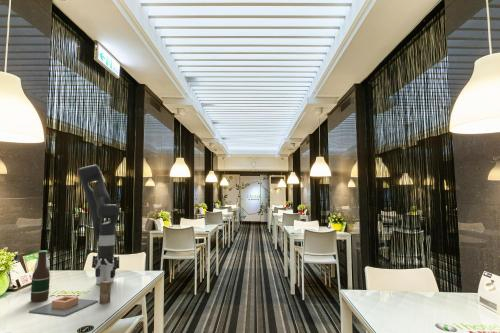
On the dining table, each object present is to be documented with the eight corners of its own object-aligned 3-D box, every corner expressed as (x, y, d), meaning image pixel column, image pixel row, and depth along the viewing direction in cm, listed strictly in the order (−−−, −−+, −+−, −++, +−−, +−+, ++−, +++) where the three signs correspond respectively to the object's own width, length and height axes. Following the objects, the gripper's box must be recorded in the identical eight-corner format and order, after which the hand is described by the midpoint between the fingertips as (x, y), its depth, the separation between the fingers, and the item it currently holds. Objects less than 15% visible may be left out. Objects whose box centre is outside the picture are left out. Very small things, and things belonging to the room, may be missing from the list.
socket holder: (65, 298, 160) (65, 291, 160) (98, 301, 155) (98, 294, 155) (28, 312, 141) (29, 304, 141) (64, 316, 136) (65, 307, 136)
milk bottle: (29, 286, 182) (32, 251, 184) (41, 283, 190) (43, 249, 192) (40, 287, 180) (42, 252, 182) (51, 283, 188) (53, 250, 190)
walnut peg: (104, 301, 156) (105, 280, 157) (110, 301, 155) (111, 281, 156) (99, 303, 152) (100, 282, 153) (105, 304, 152) (106, 282, 153)
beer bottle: (32, 298, 160) (35, 251, 162) (50, 296, 163) (53, 250, 165) (28, 303, 153) (31, 253, 155) (46, 301, 156) (49, 252, 158)
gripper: (123, 243, 158) (122, 276, 156) (100, 242, 162) (98, 274, 160) (113, 245, 151) (111, 280, 149) (89, 244, 155) (87, 278, 153)
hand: (104, 277), depth 155 cm, fingers open, 8 cm apart
